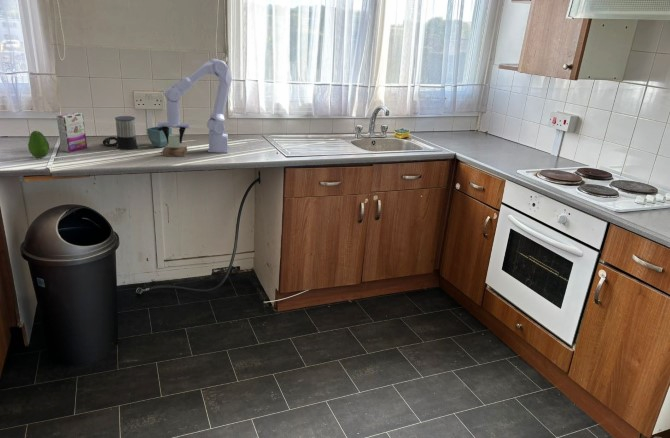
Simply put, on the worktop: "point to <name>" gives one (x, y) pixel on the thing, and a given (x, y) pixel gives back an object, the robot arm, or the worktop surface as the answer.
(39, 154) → the avocado
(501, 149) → the worktop surface
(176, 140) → the cube
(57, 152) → the worktop surface
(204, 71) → the robot arm
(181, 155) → the base slab
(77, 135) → the candy bar box
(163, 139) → the flower pot
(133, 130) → the milk frother
